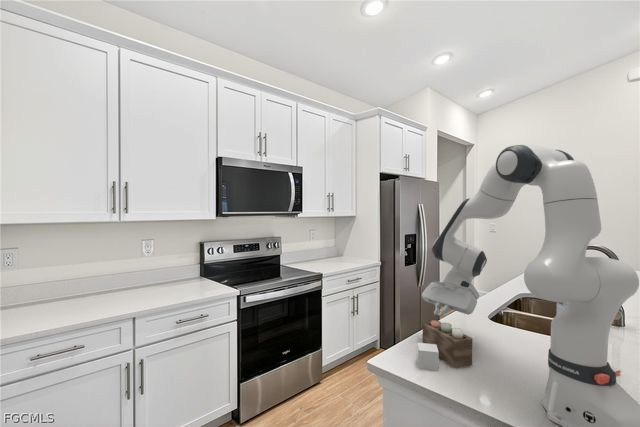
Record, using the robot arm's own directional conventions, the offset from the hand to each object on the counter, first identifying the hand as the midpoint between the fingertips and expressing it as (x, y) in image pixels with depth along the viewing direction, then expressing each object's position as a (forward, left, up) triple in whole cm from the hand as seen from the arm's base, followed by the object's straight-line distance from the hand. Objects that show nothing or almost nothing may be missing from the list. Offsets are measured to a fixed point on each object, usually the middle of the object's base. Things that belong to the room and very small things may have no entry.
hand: (437, 315), depth 115 cm
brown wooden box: (-5, +1, -12) cm, 13 cm away
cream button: (-10, +1, -4) cm, 11 cm away
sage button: (-5, +1, -4) cm, 6 cm away
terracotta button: (0, +1, -5) cm, 5 cm away
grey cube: (-8, +11, -13) cm, 19 cm away
